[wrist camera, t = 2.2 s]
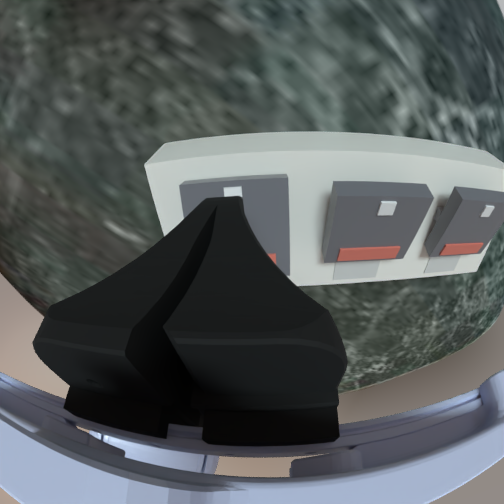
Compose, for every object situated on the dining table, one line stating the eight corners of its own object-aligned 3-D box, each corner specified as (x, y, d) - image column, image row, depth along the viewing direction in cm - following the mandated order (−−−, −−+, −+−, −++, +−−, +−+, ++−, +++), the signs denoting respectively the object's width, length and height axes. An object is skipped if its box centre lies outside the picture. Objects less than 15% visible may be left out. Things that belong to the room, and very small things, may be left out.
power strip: (457, 244, 20) (478, 275, 16) (191, 255, 21) (180, 294, 18) (486, 151, 14) (519, 175, 11) (164, 143, 15) (140, 168, 12)
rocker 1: (288, 265, 15) (290, 276, 14) (198, 269, 15) (193, 280, 14) (286, 173, 13) (288, 177, 12) (185, 180, 13) (178, 185, 12)
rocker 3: (474, 241, 15) (481, 255, 14) (423, 243, 15) (429, 258, 15) (506, 191, 11) (515, 205, 10) (454, 185, 11) (463, 201, 11)
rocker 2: (398, 245, 15) (403, 260, 15) (321, 248, 16) (324, 264, 15) (425, 183, 11) (435, 199, 11) (332, 180, 12) (338, 198, 11)
